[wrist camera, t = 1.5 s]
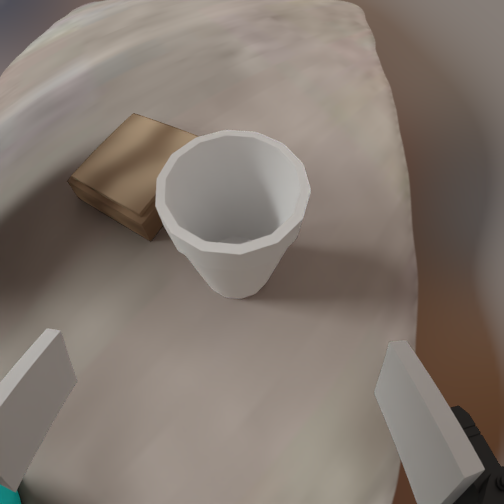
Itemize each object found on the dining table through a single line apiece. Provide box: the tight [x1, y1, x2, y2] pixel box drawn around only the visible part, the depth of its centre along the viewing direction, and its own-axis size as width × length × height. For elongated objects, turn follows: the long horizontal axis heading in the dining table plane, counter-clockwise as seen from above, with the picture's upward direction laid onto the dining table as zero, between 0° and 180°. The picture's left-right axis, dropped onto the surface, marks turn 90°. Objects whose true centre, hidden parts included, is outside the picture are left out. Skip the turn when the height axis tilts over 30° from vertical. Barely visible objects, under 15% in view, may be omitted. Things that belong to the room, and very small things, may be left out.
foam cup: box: [155, 130, 311, 299], centre depth 25 cm, size 10×9×13 cm
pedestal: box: [67, 113, 199, 241], centre depth 33 cm, size 12×12×4 cm
